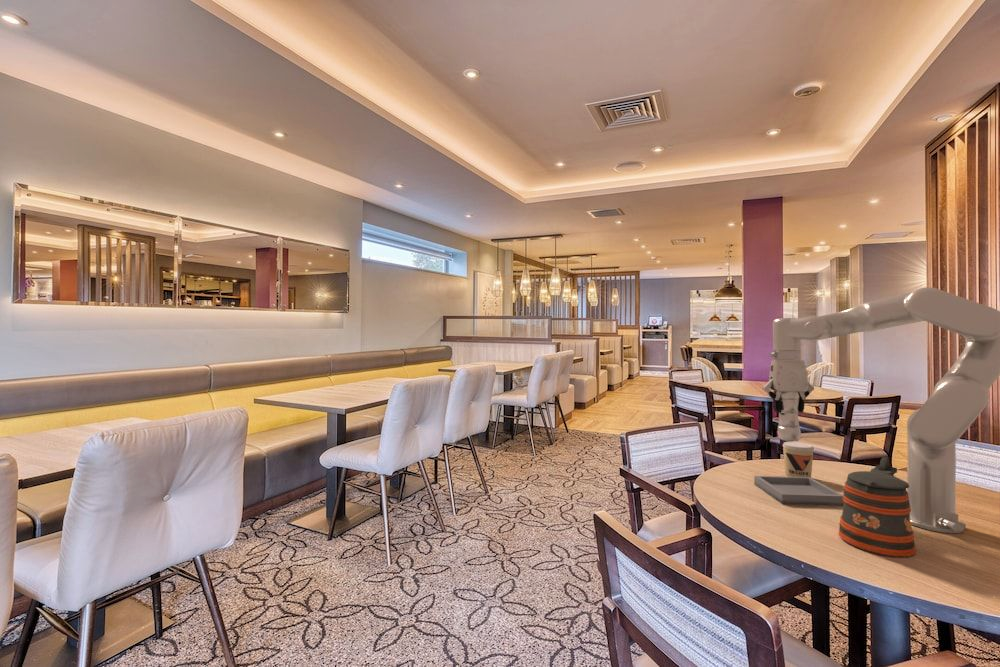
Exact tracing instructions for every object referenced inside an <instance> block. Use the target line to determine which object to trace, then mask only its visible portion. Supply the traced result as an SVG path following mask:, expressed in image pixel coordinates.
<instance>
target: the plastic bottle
mask: <svg viewBox="0 0 1000 667" xmlns="http://www.w3.org/2000/svg"><path fill="white" fill-rule="evenodd" d="M799 397H800V396H799V393H798V392H782V393H781V396H780V398H779V400H781V410H782V412H781V413H778V425H777V431H776V433H777V437H778V438H779V439H780V440H782V441H785V442H800V439H801V438H802V437H801V436H802V430H801V428H800V420H799V412H798V406H799Z"/></svg>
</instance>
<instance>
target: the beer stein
mask: <svg viewBox="0 0 1000 667" xmlns="http://www.w3.org/2000/svg"><path fill="white" fill-rule="evenodd" d="M896 473H898V468H897V467H893V466H891V465H890V458H889V456H886V455H885V456H884V455H882V458H881V459H880V462H879V464H877V465H876V466H875V467H873V468H871V470H869V471H868V470H867V471H866V470H861V471H853V472H850V473H848V474H847V477H846V480H845V482H844V489H843V493H842V495H843V501H844V505H843V506H842V515H840V517H839V518H840V519H839V525H838V526H839V528H838V536H839V538H840V539H841V540H843V541H844V542H846V543H847V544H848V545H851V546H853V547H854V548H857V549H859V550H861V551H864V552H868V553H871V554H875V555H879V556H880V555H882V556H886V557H892V558H909V557H912V556H915V555H916V545H915V533H914V530H913V529H912V528H913V527H912V525H911V519H910V512H911V509H910V503H909V496H908V492H907V488H909V485H908V483H907V481H906V480H903V479H902V478H900V477H897V476H895V474H896Z"/></svg>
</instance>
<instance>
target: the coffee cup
mask: <svg viewBox="0 0 1000 667" xmlns="http://www.w3.org/2000/svg"><path fill="white" fill-rule="evenodd" d="M782 447H783V448H782V450H783V463H784V465H783V466H784V474H785V476H784V477H786V476H787V477H810V478H812V472H813V461H814V460H813V459H814V458H813V457H814V450H815V449H814V446H813V445H812V444H809V443H806V442H801V441H793V442H788V441H785V442H783V443H782Z"/></svg>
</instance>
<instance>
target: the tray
mask: <svg viewBox="0 0 1000 667" xmlns="http://www.w3.org/2000/svg"><path fill="white" fill-rule="evenodd" d="M753 478H754V485H755V486H756V487H757V486H758V487H757V488H759V489H760V490H761V491H764V492H765V493H766V494H768V495H769V496H770V497H771V498H772V499H774V500H775V501H777V502H779V504H781V505H797V506H798V505H799V506H824V507H825V506H826V507H827V506H828V507H829V506H830V507H843V505H844V501H843V493H842V494H841V493H840V492H838V491H836V490H834V489H832V488H831V487H829V486H827V485H825V484H823V483H822V482H819V481H818V480H816V479H814V478H812V477H811V478H810V477H786V476H782V475H781V476H780V475H779V476H778V475H777V476H776V475H775V476H773V475H754V476H753Z"/></svg>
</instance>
